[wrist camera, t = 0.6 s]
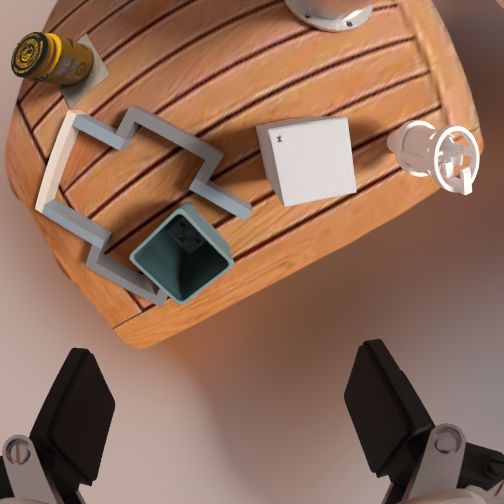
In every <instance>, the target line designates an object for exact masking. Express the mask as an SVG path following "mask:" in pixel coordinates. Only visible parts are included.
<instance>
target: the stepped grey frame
mask: <svg viewBox="0 0 504 504" xmlns="http://www.w3.org/2000/svg"><path fill="white" fill-rule="evenodd" d="M139 125H142V126H144V127H146V128H148V129H150V130H152V131H154V132H156V133H157V134H159V135H161V136H163V137H165V138H167V139H168V140H170V141H172V142H174V143H176V144H178V145H179V146H181V147H183V148H185V149H187V150H188V151H190V152H192V153H194V154H196V155H197V156H199V157H201V158H203V159H204V160H205V162H204V164H203V165H202V167H201V169H200V170H199V172H198V174H197V175H196V177H195V179H194V181H193V182H192V184H191V186H190V187H189V189H190V190H192V191H194V192H195V193H197V194H199V195H201V196H202V197H204V198H206V199H208V200H210V201H211V202H213V203H215V204H217V205H218V206H220V207H222V208H224V209H225V210H227V211H229V212H231V213H232V214H234V215H236V216H237V217H239V218H241V219H243V220H244V221H246V219H247V218H248V216H249V215H250V213H251V212H252V209H251V204H249V203H248V202H246V201H244V200H242V199H241V198H239V197H237V196H236V195H234V194H232V193H231V192H229V191H227V190H225V189H224V188H222V187H220V186H219V185H217V184H215V183H213V182H212V181H210V180H209V178H210V177H211V175H212V173H213V172H214V170H215V168H216V167H217V165H218V164H219V162H220V160H221V159H222V157H223V155H224V153H223V152H222V151H220V150H218V149H216V148H215V147H213V146H211V145H210V144H208V143H206V142H204V141H202V140H201V139H199V138H197V137H195V136H194V135H192V134H190V133H188V132H186V131H185V130H183V129H181V128H179V127H177V126H175V125H174V124H172V123H170V122H168V121H166V120H164V119H162V118H160V117H158V116H157V115H155V114H153V113H151V112H149V111H147V110H145V109H143V108H141V107H139V106H133V105H130V107H129V109H128V111H127V112H126V114H125V116H124V118H123V120H122V122H121V124H120V126H119V128H118V130H117V129H115V128H113V127H111V126H109V125H107V124H105V123H103V122H101V121H99V120H97V119H96V118H94V117H92V116H90V115H88V114H86V113H84V112H82V111H80V110H70V111H68V112H67V115H66V117H65V119H64V122H63V124H62V127H61V129H60V131H59V134H58V137H57V139H56V142H55V145H54V147H53V150H52V153H51V156H50V159H49V162H48V165H47V168H46V171H45V174H44V177H43V181H42V184H41V187H40V191H39V195H38V198H37V202H36V206H35V209H36V210H37V211H39V212H40V213H42V214H44V215H45V216H47V217H48V218H50V219H51V220H53V221H55V222H56V223H58V224H59V225H61V226H63V227H64V228H66V229H68V230H69V231H71V232H73V233H74V234H76V235H78V236H79V237H81V238H83V239H84V240H86V241H88V242H89V243H91V244H92V247H91V250H90V253H89V256H88V259H87V262H86V265H85V266H86V267H88V268H89V269H91V270H93V271H94V272H96V273H98V274H100V275H101V276H103V277H105V278H107V279H109V280H110V281H112V282H114V283H116V284H118V285H119V286H121V287H123V288H125V289H127V290H129V291H131V292H133V293H134V294H136V295H138V296H140V297H142V298H144V299H146V300H148V301H150V302H152V303H154V304H156V305H158V306H160V307H162V306H163V304H164V302H165V300H166V298H167V297H168V295H167V294H166V293H165V292H164V291H163V290H162V289H161V288H160V287H158V286H157V285H156V284H155V283H154V282H153V281H152V280H150V279H149V278H147V277H145V276H143V275H141V274H139V273H137V272H135V271H134V270H132V269H130V268H128V267H126V266H124V265H123V264H121V263H119V262H117V261H115V260H114V259H112V258H110V257H108V256H107V255H105V254H104V252H105V249H106V246H107V244H108V241H109V239H110V236H111V234H112V232H111V231H109V230H107V229H105V228H104V227H102V226H100V225H98V224H97V223H95V222H93V221H91V220H90V219H88V218H86V217H85V216H83V215H81V214H80V213H78V212H76V211H74V210H73V209H71V208H69V207H68V206H66V205H64V204H63V203H61V202H60V201H58V200H56V199H55V195H56V192H57V189H58V186H59V183H60V180H61V177H62V174H63V171H64V168H65V165H66V163H67V160H68V157H69V155H70V152H71V150H72V147H73V145H74V142H75V140H76V137H77V135H78V133H79V130H82V131H84V132H86V133H87V134H89V135H91V136H93V137H95V138H97V139H99V140H101V141H103V142H104V143H106V144H108V145H110V146H112V147H114V148H116V149H118V150H119V151H120V150H123V149H126V148H128V146H129V144H130V142H131V140H132V138H133V136H134V135H135V133H136V131H137V129H138V127H139ZM196 296H197V295H196ZM196 296H194V297H193V298H194V299H195V297H196Z"/></svg>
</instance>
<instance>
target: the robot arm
mask: <svg viewBox="0 0 504 504" xmlns="http://www.w3.org/2000/svg"><path fill="white" fill-rule="evenodd" d="M376 1H377V0H284V2H285V4H286V6H287V7H288V8H289V10H290V11H291V12H292V13H293V14H294V15H295V16H296V17H297V18H299V19H300V20H302V21H303V22H305V23H306V24H309V25H311V26H313V27H315V28H318V29H321V30H324V31H330V32H346V31H350V30H353V29H356V28H358V27H359V26H361V25H362V24H364V23H365V22H366V21H367V20H368V18H369V17H370V15H371V12H372V7H373V3H374V2H376ZM496 1H497V2H498V3H499V4H500V5H501V6H502V7H503V8H504V0H496ZM306 16H307V17H308V18H309V19H308V18H306ZM347 25H348V26H349V27H348V26H347ZM344 400H345V403H346V406H347V408H348V411H349V414H350V416H351V419H352V422H353V424H354V427H355V429H356V432H357V435H358V437H359V440H360V443H361V446H362V448H363V451H364V454H365V456H366V459H367V462H368V465H369V467H370V470H371V471H372V472H373V473H375V472H376V475H377V477H378V478H379V477H382V476H386V475H389V478H390V481H391V484H390V486H389V488H388V491H387V493H386V495H385V497H384V499H383V501H382V503H381V504H504V455H503V454H502V453H501V452H498V451H495V450H491V449H487V448H484V447H480V446H477V445H474V444H471V443H467V442H466V439H465V436H464V433H463V432H462V430H461V429H460V428H458V427H457V426H455V425H453V424H448V423H444V424H440V425H438V426H435V425H434V423H433V421H432V420H431V417H430V416H429V414H428V412H427V410H426V409H425V407H424V405H423V404H422V402H421V400H420V398H419V397H418V395H417V393H416V392H415V390H414V388H413V387H412V385H411V383H410V382H409V380H408V378H407V377H406V375H405V374H404V373H403V371H401V370H400V369H399V367H398V365H397V364H396V362H395V360H394V359H393V357H392V356H391V354H390V353H389V351H388V349H387V348H386V346H385V345H384V343H383V341H382V340H381V339H375V340H369V341H364V343H363V345H362V346H360V347H359V349H358V352H357V355H356V358H355V362H354V365H353V369H352V372H351V375H350V378H349V381H348V384H347V387H346V390H345V393H344ZM114 410H115V401H114V398H113V396H112V394H111V392H110V390H109V388H108V386H107V384H106V382H105V380H104V377H103V375H102V373H101V371H100V368H99V366H98V364H97V361H96V359H95V357H94V355H93V354H92V353H90V351H89V350H88V349H82V348H72V349H71V351H70V353H69V355H68V356H67V358H66V360H65V362H64V364H63V366H62V368H61V370H60V371H59V374H58V375H57V377H56V379H55V381H54V383H53V385H52V387H51V389H50V391H49V393H48V395H47V397H46V400H45V402H44V404H43V406H42V408H41V410H40V412H39V414H38V417H37V419H36V421H35V424H34V426H33V428H32V430H31V433H30V436H29V438H28V437H26V436H24V435H14V436H12V437H10V438H9V439H8V440H7V441H6V442H5V444H4V446H3V451H2V453H3V455H2V456H0V504H86V503H85V501H84V499H83V497H82V496H81V494H80V492H79V490H78V488H79V484H80V483H81V484H85V485H89V486H92V481H95V480H96V479H97V476H98V471H99V467H100V463H101V458H102V454H103V450H104V446H105V443H106V439H107V435H108V431H109V427H110V424H111V420H112V417H113V413H114Z"/></svg>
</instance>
